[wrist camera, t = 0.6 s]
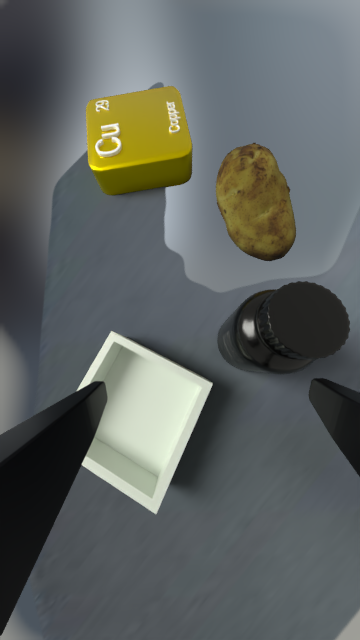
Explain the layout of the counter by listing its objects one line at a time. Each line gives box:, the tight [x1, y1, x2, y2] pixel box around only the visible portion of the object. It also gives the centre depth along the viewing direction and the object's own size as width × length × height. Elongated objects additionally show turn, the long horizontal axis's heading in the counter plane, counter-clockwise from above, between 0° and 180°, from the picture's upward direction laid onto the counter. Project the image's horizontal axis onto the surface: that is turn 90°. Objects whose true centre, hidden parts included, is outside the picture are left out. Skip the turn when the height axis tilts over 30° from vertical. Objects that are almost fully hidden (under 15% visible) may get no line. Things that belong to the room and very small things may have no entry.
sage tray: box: [77, 331, 213, 514], centre depth 19 cm, size 12×12×4 cm
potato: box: [216, 143, 296, 261], centre depth 22 cm, size 8×13×8 cm, turn 10°
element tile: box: [86, 86, 192, 195], centre depth 28 cm, size 15×15×5 cm
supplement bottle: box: [217, 281, 350, 374], centre depth 16 cm, size 7×7×12 cm
